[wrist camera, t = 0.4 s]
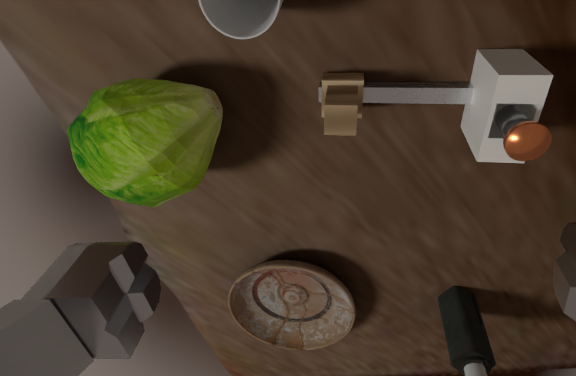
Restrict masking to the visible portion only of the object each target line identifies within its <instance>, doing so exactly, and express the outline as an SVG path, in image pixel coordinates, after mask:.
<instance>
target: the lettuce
mask: <svg viewBox="0 0 576 376" xmlns="http://www.w3.org/2000/svg"><path fill="white" fill-rule="evenodd" d="M222 117H223V107H222V105H221V103H220V100H219V98H218V96H217V95H216V93H215V92H214V91H213V90H211V89H207V88H204V87H200V86H196V85H191V84H184V83H178V82H173V81H168V80H154V79H131V80H126V81H121V82H118V83H115V84H113V85H111V86H108V87H105V88H103V89H100V90H97V91H95V92H93V93H92V95H91V98H90V100H89V103H88V105H87V107H86V108H85V110H84V111H83V112H82V113H81V114H80V115H79V116H78V117H77V118H76V119H75V120H74V121H73V123H72V124H71V125H70V126H69V128H68V129H67V132H68V137H69V142H70V146H71V151H72V155H73V159H74V161H75V164H76V166H77V169H78V170H79V171H80V173H81V174H82V176H83V177H84V178H85V180H87V182H89V183H90V184H91V185H92V186H93V187H95V188H96V189H97V190H99V191H100V192H101V193H103V194H104V195H105V196H107V197H111V198H114V199H117V200H121V201H125V202H128V203H132V204H137V205H143V206H150V207H157V206H159V205H160V204H162V203H164V202H166V201H168V200H171V199H173V198H175V197H178V196H180V195H182V194H185V193H187V192H189V191H191V190H193V189H195V188H196V187H197V186H198V184H199V183H200V182H201V181H202V180H203V178H204V175H205V173H206V171H207V168H208V166H209V164H210V161H211V158H212V154H213V151H214V147H215V144H216V141H217V138H218V135H219V132H220V128H221V123H222Z"/></svg>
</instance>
